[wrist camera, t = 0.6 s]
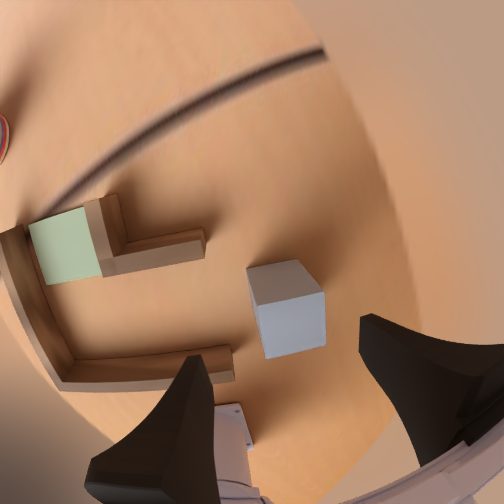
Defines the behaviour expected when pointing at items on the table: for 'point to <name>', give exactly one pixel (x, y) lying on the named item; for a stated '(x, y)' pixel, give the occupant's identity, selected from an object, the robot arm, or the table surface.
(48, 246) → the pad
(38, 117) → the table surface
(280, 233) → the table surface
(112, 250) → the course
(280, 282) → the block
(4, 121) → the pill bottle
